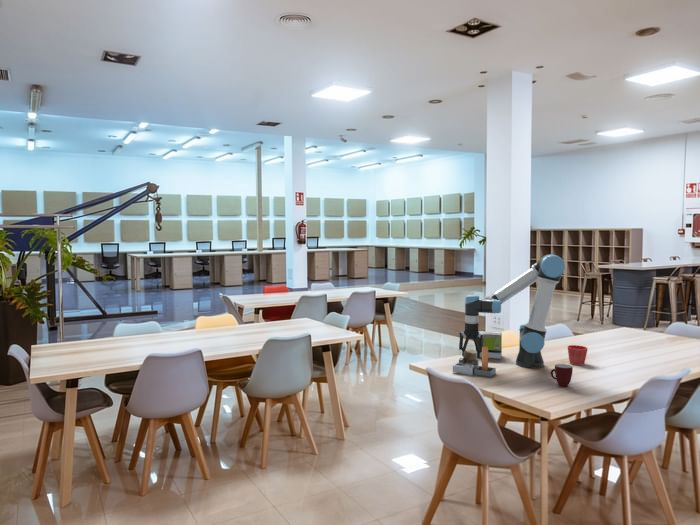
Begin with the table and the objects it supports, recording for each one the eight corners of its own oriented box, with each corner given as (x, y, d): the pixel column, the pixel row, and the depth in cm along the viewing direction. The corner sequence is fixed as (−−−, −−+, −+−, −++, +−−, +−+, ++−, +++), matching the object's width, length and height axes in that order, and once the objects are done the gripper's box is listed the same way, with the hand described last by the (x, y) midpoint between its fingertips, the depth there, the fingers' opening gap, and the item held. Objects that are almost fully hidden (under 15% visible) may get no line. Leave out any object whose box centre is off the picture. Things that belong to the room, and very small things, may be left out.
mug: (546, 385, 257) (547, 365, 256) (553, 381, 263) (553, 362, 262) (568, 389, 250) (569, 369, 249) (574, 385, 256) (575, 365, 255)
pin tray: (495, 373, 278) (495, 368, 278) (491, 377, 270) (491, 371, 270) (479, 371, 283) (479, 365, 283) (474, 375, 275) (474, 369, 275)
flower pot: (587, 362, 303) (587, 345, 303) (587, 366, 293) (587, 349, 293) (567, 360, 308) (567, 344, 307) (566, 364, 298) (567, 348, 297)
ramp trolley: (479, 370, 286) (480, 359, 285) (472, 375, 274) (472, 364, 274) (460, 367, 291) (460, 356, 291) (452, 372, 280) (452, 361, 280)
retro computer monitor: (501, 355, 320) (502, 331, 319) (500, 359, 311) (501, 334, 310) (476, 353, 325) (477, 330, 324) (475, 357, 315) (475, 333, 315)
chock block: (478, 362, 295) (478, 350, 295) (473, 366, 288) (474, 353, 288) (468, 361, 298) (468, 349, 298) (463, 364, 291) (463, 352, 291)
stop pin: (488, 373, 277) (488, 347, 276) (487, 374, 274) (487, 348, 274) (482, 372, 279) (482, 346, 278) (481, 373, 276) (481, 347, 275)
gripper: (490, 323, 290) (489, 364, 291) (457, 320, 300) (456, 359, 301) (486, 325, 284) (485, 366, 285) (453, 321, 293) (452, 362, 295)
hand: (470, 363), depth 293 cm, fingers closed on chock block, 6 cm apart
